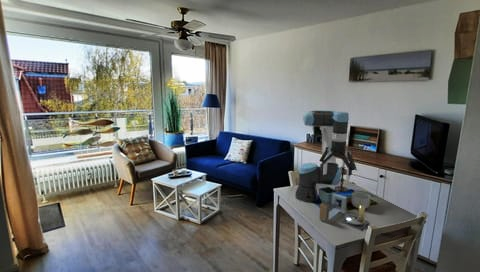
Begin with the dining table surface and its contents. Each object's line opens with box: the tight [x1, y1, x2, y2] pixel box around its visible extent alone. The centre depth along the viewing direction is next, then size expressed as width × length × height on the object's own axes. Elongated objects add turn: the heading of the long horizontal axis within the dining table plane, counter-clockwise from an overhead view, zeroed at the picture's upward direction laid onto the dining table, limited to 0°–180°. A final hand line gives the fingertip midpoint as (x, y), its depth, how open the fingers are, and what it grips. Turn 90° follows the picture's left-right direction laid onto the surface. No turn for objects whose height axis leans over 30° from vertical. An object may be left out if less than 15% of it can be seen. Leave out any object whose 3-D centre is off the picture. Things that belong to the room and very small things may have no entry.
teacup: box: [350, 190, 371, 210], centre depth 159 cm, size 14×11×8 cm
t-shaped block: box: [319, 193, 348, 223], centre depth 148 cm, size 22×9×9 cm, turn 135°
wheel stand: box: [339, 217, 369, 231], centre depth 140 cm, size 11×11×1 cm
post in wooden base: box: [319, 200, 339, 222], centre depth 146 cm, size 18×4×9 cm, turn 135°
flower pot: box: [318, 186, 339, 205], centre depth 163 cm, size 9×9×9 cm
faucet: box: [344, 205, 366, 225], centre depth 138 cm, size 10×10×11 cm
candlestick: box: [334, 153, 349, 193], centre depth 181 cm, size 11×11×35 cm
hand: (335, 177), depth 141 cm, fingers open, 13 cm apart
